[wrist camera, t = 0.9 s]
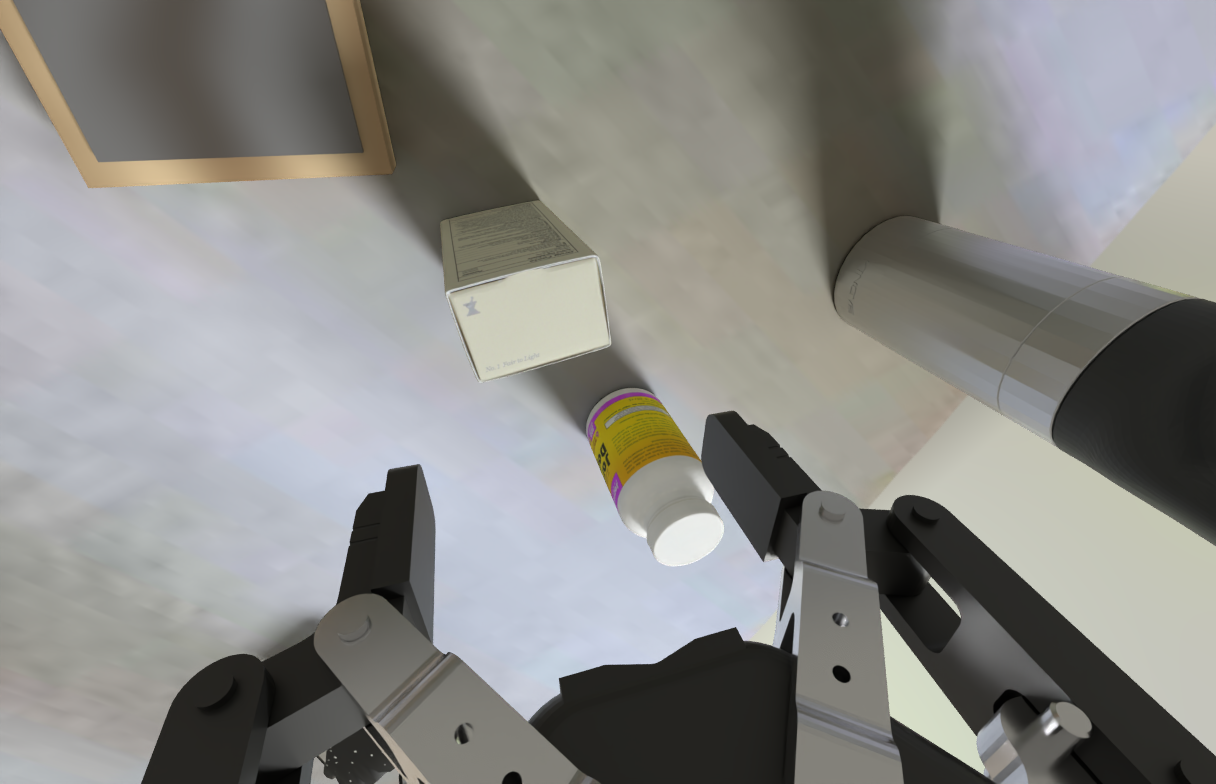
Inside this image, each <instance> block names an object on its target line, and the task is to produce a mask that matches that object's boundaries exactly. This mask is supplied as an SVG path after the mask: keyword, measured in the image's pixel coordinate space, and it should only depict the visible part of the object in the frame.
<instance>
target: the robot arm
mask: <svg viewBox="0 0 1216 784" xmlns="http://www.w3.org/2000/svg"><path fill="white" fill-rule="evenodd" d="M834 299H835V306H836V310H837V312H838V314H839V315H840V317H841V319H843V320H844V321H845V322H846V323H847V324H849V325H851V326H852V327H854V328H856V329H858V330H859V331H861V332H863V333H864V334H866V335H868V336H869V337H871V338H873V339H874V340H876V341H878V342H879V343H881V344H882V345H884V346H886V347H888V348H889V349H891V350H893V351H894V352H896V353H898V354H899V355H901V356H903V357H904V358H906V359H908V360H910V361H911V362H913V363H915V364H916V365H918V366H920V367H921V368H923V369H925V370H927V371H928V372H930V373H932V374H933V375H935V376H937V377H938V378H940V379H942V380H944V381H945V382H947V383H949V384H950V385H952V386H954V387H955V388H957V389H959V390H961V391H962V392H964V393H966V394H967V395H969V396H971V397H973V398H974V399H976V400H978V401H979V402H981V403H983V404H984V405H986V406H988V407H989V408H991V409H993V410H995V411H996V412H998V413H1000V414H1001V415H1003V416H1005V417H1006V418H1008V419H1010V420H1012V421H1014V422H1015V423H1017V424H1019V425H1020V426H1022V427H1024V428H1026V429H1027V430H1029V431H1031V432H1032V433H1034V434H1036V435H1037V436H1039V437H1041V438H1043V439H1044V440H1046V441H1048V442H1049V443H1051V444H1053V445H1054V446H1056V447H1058V448H1059V449H1060V450H1062V451H1064V452H1066V453H1067V454H1069V455H1070V456H1072V457H1074V458H1076V459H1078V460H1079V461H1081V462H1083V463H1084V464H1086V465H1087V466H1089V467H1091V468H1092V469H1094V470H1095V471H1097V472H1098V473H1100V474H1101V475H1103V476H1104V477H1106V478H1108V479H1109V480H1111V481H1112V482H1114V483H1115V484H1117V485H1118V486H1120V487H1122V488H1123V489H1125V490H1127V491H1128V492H1130V493H1132V494H1133V495H1135V496H1137V497H1138V498H1140V499H1141V500H1143V501H1145V502H1146V503H1148V504H1150V505H1151V506H1153V507H1154V508H1156V509H1158V510H1160V511H1161V512H1163V513H1164V514H1166V515H1168V516H1169V517H1171V518H1173V519H1174V520H1176V521H1177V522H1179V523H1180V524H1182V525H1184V526H1185V527H1187V528H1188V529H1190V530H1192V531H1193V532H1195V533H1196V534H1198V535H1199V536H1201V537H1202V538H1204V539H1206V540H1207V541H1209V542H1210V543H1212V544H1213V545H1215V546H1216V303H1215V302H1211V301H1208V300H1205V299H1199V298H1197V297H1194V296H1190V295H1187V294H1183V293H1179V292H1176V291H1173V290H1169V289H1165V288H1162V287H1159V286H1155V285H1152V284H1148V283H1145V282H1141V281H1138V280H1134V279H1131V278H1127V277H1123V276H1119V275H1116V274H1112V273H1108V272H1105V271H1102V270H1098V269H1095V268H1091V267H1088V266H1084V265H1081V264H1077V263H1074V262H1070V261H1067V260H1063V259H1060V258H1056V257H1053V256H1049V255H1046V254H1042V253H1039V252H1035V251H1032V250H1028V249H1025V248H1021V247H1018V246H1014V245H1011V244H1007V243H1004V242H1000V241H997V240H993V239H990V238H986V237H983V236H979V235H976V234H972V233H969V232H965V231H962V230H959V229H956V228H952V227H949V226H945V225H942V224H938V223H935V222H931V221H927V220H924V219H920V218H917V217H912V216H898V217H895V218H892V219H889V220H887V221H885V222H883V223H881V224H879V225H877V226H876V227H874V228H873V229H872V230H871V231H869V232H868V233H867V234H865V235H864V236H863V238H862V239H861V240H860V241H859V242H858V243H857V244H856V245H855V246H854V248H853V249H852V250H851V252H850V253H849V254H848V256H847V258H846V259H845V261H844V263H843V265H842V267H841V269H840V272H839V275H838V277H837V280H836V285H835V291H834ZM701 460H702V466H703V469H704V472H705V474H706V476H707V478H708V479H709V481H710V482H711V484H712V485H713V487H714V488H715V490H716V491H717V493H718V494H719V496H720V497H721V499H722V500H723V502H724V503H725V505H726V506H727V508H728V509H729V511H730V512H731V514H732V515H733V517H734V518H735V520H736V521H737V523H738V524H739V526H740V527H741V529H742V530H743V532H744V533H745V535H746V536H747V538H748V539H749V541H750V542H751V544H752V545H753V547H754V549H755V550H756V552H757V553H758V555H759V556H760V558H761V559H762V561H763V562H767V561H771V560H775V559H780V561H781V562H782V563H783V568H782V572H781V581H780V591H779V600H778V610H777V620H776V630H775V636H774V642H773V646H771V645H767V644H763V643H759V642H752V641H743V639H742V638H741V636H740V634H739V632H738V630H737V628H736V627H735V628H731V629H728V630H724V631H721V632H718V633H714V634H711V635H707V636H704V637H700V638H697V639H694V640H693V641H691V642H690V643H688V644H687V645H685V646H683V647H682V648H680V649H679V650H677V651H676V652H674V653H673V654H671V655H669V656H668V657H666V658H665V659H663V660H662V661H660V662H658V663H655V664H631V665H603V666H600V667H596V668H593V669H590V670H586V671H583V672H579V673H576V674H572V675H569V676H565V677H562V678H559V684H560V694H559V695H557V696H555V697H554V698H552V699H551V700H550V701H548V702H547V703H546V704H545V705H543V706H542V707H541V708H540V709H539V710H538V711H537V712H536V713H535V714H534V715H533V716H532V717H531V719H530V720H529V721H528V722H527V721H526V720H525V719H524V718H523V717H522V716H521V715H520V714H519V713H518V712H517V711H516V710H515V709H514V708H512V707H511V706H510V705H509V704H508V703H507V702H506V701H505V700H504V699H503V698H502V697H501V696H500V695H499V694H498V693H497V692H495V691H494V690H493V689H492V688H491V687H490V686H489V685H488V684H487V683H486V682H485V681H484V680H483V679H482V678H481V677H479V676H478V675H477V674H476V673H475V672H474V671H473V670H472V669H471V668H470V667H469V666H468V665H467V664H466V663H465V662H463V661H462V660H461V659H460V658H459V657H458V656H456V655H455V654H453V653H451V652H448V653H447V654H446V655H445V654H443V653H442V652H440V651H439V650H438V649H437V648H436V647H435V646H434V645H433V614H434V571H435V518H434V511H433V506H432V503H431V499H430V495H429V492H428V488H427V485H426V481H425V477H424V474H423V470H422V467H421V465H420V464H417V465H411V466H406V467H400V468H394V469H389V470H388V474H387V480H386V487H385V491H381V492H375V493H370V494H368V495H367V497H366V498H365V499H364V501H363V502H362V504H361V505H360V506H359V508H358V509H357V510H356V515H355V519H354V524H353V531H352V534H351V539H350V546H349V548H348V553H347V558H346V563H345V567H344V572H343V577H342V582H341V586H340V591H339V596H338V600H337V604H336V606H334V607H333V608H332V609H331V610H330V611H329V612H328V613H327V614H326V615H325V616H324V617H323V619H322V620H321V621H320V623H319V625H318V627H317V629H316V631H315V633H313V634H312V635H311V636H309V637H308V638H306V639H305V640H303V641H302V642H300V643H298V644H296V645H294V646H292V647H290V648H288V649H286V650H284V651H283V652H281V653H279V654H277V655H275V656H273V657H271V658H269V659H267V660H265V661H263V662H261V661H260V660H259V659H258V658H256V657H255V656H252V655H248V654H237V655H232V656H228V657H225V658H223V659H220V660H218V661H216V662H214V663H212V664H210V665H209V666H207V667H205V668H204V669H203V670H201V671H200V672H198V673H197V674H196V675H195V676H194V677H193V678H191V679H190V680H189V681H188V682H187V683H186V684H185V685H184V686H183V688H182V689H181V690H180V692H179V693H178V694H177V696H176V697H175V699H174V700H173V702H172V705H171V707H170V709H169V712H168V714H167V717H166V719H165V722H164V725H163V727H162V730H161V733H160V735H159V738H158V740H157V743H156V746H155V748H154V751H153V754H152V756H151V759H150V762H149V764H148V767H147V769H146V772H145V775H144V777H143V780H142V783H141V784H310V782H311V774H312V767H313V760H314V758H315V757H317V756H318V755H320V754H321V753H323V752H325V751H326V750H328V749H329V748H331V747H333V746H334V745H336V744H337V743H339V742H341V741H342V740H344V739H345V738H347V737H349V736H350V735H352V734H354V733H355V732H357V731H358V730H360V729H362V728H364V730H365V731H366V732H367V733H368V735H369V736H370V737H371V738H372V740H373V741H374V742H375V743H376V745H377V746H378V747H379V748H380V750H381V751H382V752H383V753H384V755H385V756H386V757H387V758H388V760H389V761H390V762H391V763H392V765H393V766H394V767H395V768H396V770H397V771H398V772H399V773H400V775H401V776H402V777H403V778H404V780H405V781H406V782H407V783H408V784H1216V756H1215V755H1214V754H1213V753H1212V752H1211V751H1209V750H1208V749H1207V748H1206V747H1205V746H1204V745H1203V744H1202V743H1201V742H1200V741H1199V740H1197V739H1196V738H1195V737H1194V736H1193V735H1192V734H1191V733H1190V732H1189V731H1188V730H1187V729H1185V728H1184V727H1183V726H1182V725H1181V724H1180V723H1179V722H1178V721H1177V720H1176V719H1175V718H1173V717H1172V716H1171V715H1170V714H1169V713H1168V712H1167V711H1166V710H1165V709H1164V708H1163V707H1162V706H1160V705H1159V704H1158V703H1157V702H1156V701H1155V700H1154V699H1153V698H1152V697H1151V696H1150V695H1148V694H1147V693H1146V692H1145V691H1144V690H1143V689H1142V688H1141V687H1140V686H1139V685H1138V684H1137V683H1135V682H1134V681H1133V680H1132V679H1131V678H1130V677H1129V676H1128V675H1127V674H1126V673H1124V672H1123V671H1122V670H1121V669H1120V668H1119V667H1118V666H1117V665H1116V664H1115V663H1114V662H1113V661H1111V660H1110V659H1109V658H1108V657H1107V656H1106V655H1105V654H1104V653H1102V651H1101V650H1100V649H1098V648H1097V647H1096V646H1095V645H1094V644H1093V643H1092V642H1091V641H1090V640H1089V639H1088V638H1086V637H1085V636H1084V635H1083V634H1082V633H1081V632H1080V631H1079V630H1078V629H1077V628H1076V627H1075V626H1073V625H1072V624H1071V623H1070V622H1069V621H1068V620H1067V619H1066V618H1065V617H1064V616H1063V615H1061V614H1060V613H1059V612H1058V611H1057V610H1056V609H1055V608H1054V607H1053V606H1052V605H1051V604H1049V603H1048V602H1047V601H1046V600H1045V599H1044V598H1043V597H1042V596H1041V595H1040V594H1039V593H1038V592H1036V591H1035V590H1034V589H1033V588H1032V587H1031V586H1030V585H1029V584H1028V583H1027V582H1025V581H1024V580H1023V579H1022V578H1021V577H1020V576H1019V575H1018V574H1017V573H1016V572H1015V571H1014V570H1012V569H1011V568H1010V567H1009V566H1008V565H1007V564H1006V563H1005V562H1004V561H1003V560H1002V559H1000V558H999V557H998V556H997V555H996V554H995V553H994V552H993V551H992V550H991V549H990V548H989V547H987V546H986V545H985V544H984V543H983V542H982V541H981V540H980V539H978V537H977V536H975V535H974V534H973V533H972V532H971V531H970V530H969V529H968V528H967V527H966V526H965V525H963V524H962V523H961V522H960V521H959V520H958V519H957V518H956V517H955V516H954V515H953V514H952V513H950V512H949V511H948V510H947V509H946V508H945V507H943V506H941V505H940V504H938V503H936V502H934V501H932V500H930V499H927V498H924V497H920V496H915V495H905V496H901V497H899V498H897V499H896V500H895V501H894V503H893V505H892V508H891V510H875V509H859V508H858V507H857V506H856V505H855V504H854V503H853V502H852V501H851V500H849V499H848V498H846V497H844V496H842V495H840V494H837V493H834V492H830V491H822V490H821V489H820V488H819V487H818V486H817V485H816V484H815V483H814V482H813V481H812V480H811V478H810V477H809V476H808V475H807V474H806V473H805V472H804V471H803V470H802V469H801V468H800V467H799V465H798V464H797V463H796V462H795V461H794V460H793V459H792V458H791V457H789V456H788V454H787V452H786V451H785V450H784V449H783V448H780V445H779V444H778V443H777V442H776V441H775V439H774V438H773V437H772V436H771V435H770V434H769V433H767V432H766V431H764V430H762V429H760V428H759V427H757V426H755V425H754V424H752V425H747V423H746V422H745V421H744V420H743V419H742V418H741V417H740V416H739V414H738V413H737V412H735V411H728V412H722V413H716V414H710V415H709V416H708V417H707V419H706V425H705V432H704V439H703V447H702V454H701ZM930 577H932V578H933V579H934V580H935V581H936V582H937V584H938V585H939V586H940V587H941V588H942V589H943V590H944V591H945V592H946V593H947V595H948V596H949V597H950V598H951V599H952V600H953V601H954V603H955V604H956V605H957V607H958V609H959V611H960V615H961V618H960V617H959V616H958V615H957V614H956V613H955V611H954V610H953V609H952V608H951V607H950V606H949V605H948V604H947V603H946V601H945V600H944V599H943V598H942V597H941V596H940V595H939V593H938V592H937V591H936V590H935V589H934V588H933V587H932V586H931V585H930V583H929V582H928V581H929V579H930ZM880 609H881V610H882V612H883V613H884V614H885V616H886V617H887V618H888V620H889V621H890V622H891V624H892V625H893V626H894V628H895V629H896V630H897V632H898V633H899V634H900V636H901V637H902V638H903V640H904V641H905V642H906V644H907V645H908V646H909V647H910V649H911V650H912V651H913V653H914V654H915V655H916V656H917V658H918V659H919V661H920V662H921V663H922V665H923V666H924V667H925V669H926V670H927V671H928V673H929V674H930V675H931V677H932V678H933V679H934V680H935V682H936V683H937V685H938V686H939V687H940V688H941V690H942V691H943V692H944V694H945V695H946V696H947V698H948V699H949V700H950V702H951V703H952V704H953V706H954V707H955V708H956V710H957V711H958V712H959V714H960V715H961V716H962V718H963V719H964V720H965V722H966V723H967V724H968V726H969V727H970V728H971V730H972V731H973V732H974V734H975V735H976V736H977V749H978V753H979V756H980V758H981V760H982V762H983V764H984V766H985V769H984V775H983V774H981V773H979V772H978V771H976V770H975V769H973V768H972V767H970V766H968V765H967V764H965V763H964V762H962V761H961V760H959V759H957V758H956V757H954V756H953V755H951V754H949V753H948V752H946V751H945V750H943V749H941V748H940V747H938V746H937V745H935V744H934V743H932V742H930V741H929V740H927V739H926V738H924V737H922V736H920V735H919V734H918V733H916V732H914V731H913V730H911V729H910V728H908V727H906V726H905V725H903V724H902V723H900V722H898V721H897V720H895V719H894V718H892V717H891V716H890V714H889V713H890V712H889V702H888V691H887V680H886V669H885V658H884V647H883V636H882V626H881V615H880Z"/></svg>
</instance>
